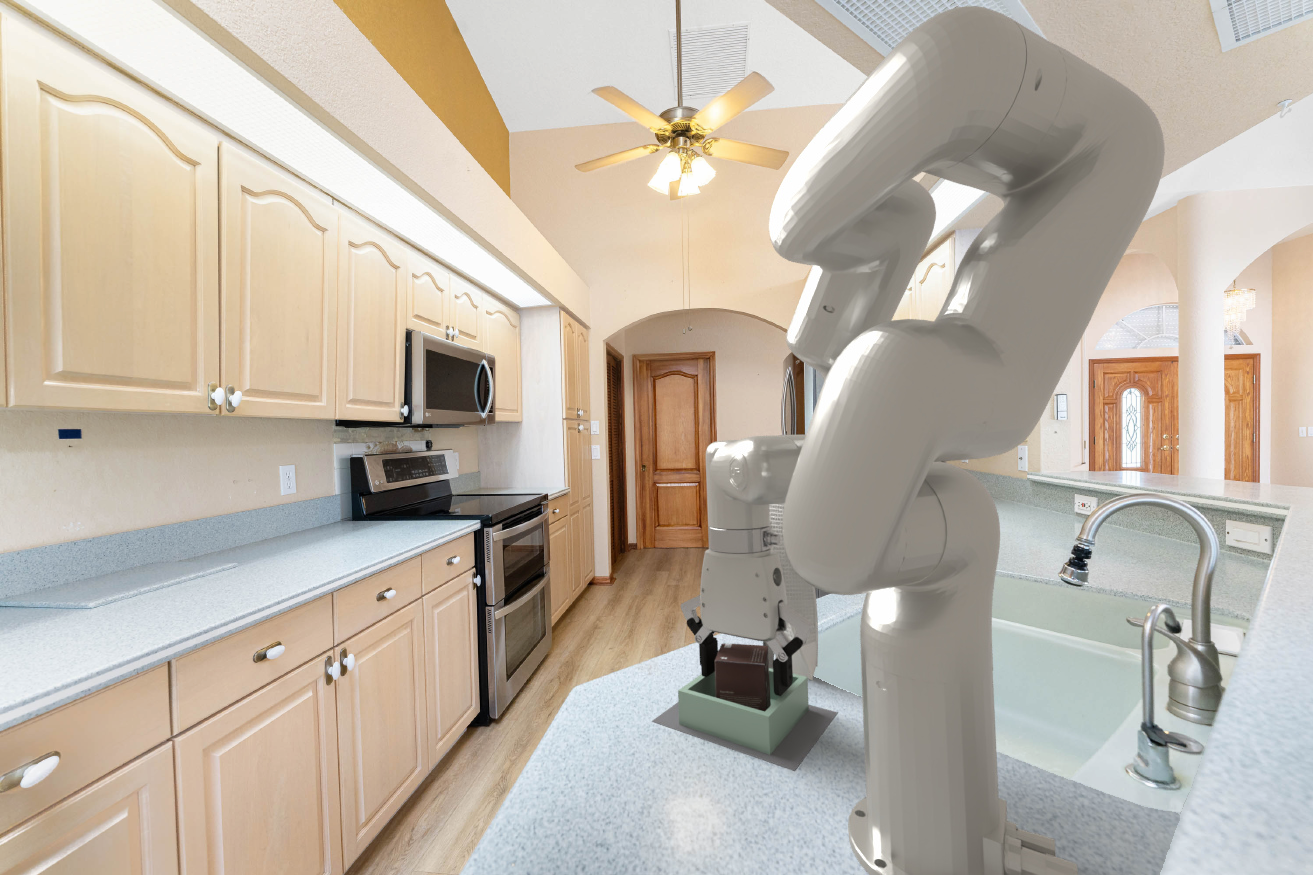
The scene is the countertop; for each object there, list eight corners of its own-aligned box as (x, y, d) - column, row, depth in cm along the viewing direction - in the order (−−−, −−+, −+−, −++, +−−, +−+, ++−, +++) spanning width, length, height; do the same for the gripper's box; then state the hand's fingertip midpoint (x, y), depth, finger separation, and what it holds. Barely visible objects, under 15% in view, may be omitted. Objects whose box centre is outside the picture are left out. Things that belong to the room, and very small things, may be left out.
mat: (837, 715, 64) (837, 712, 64) (794, 774, 53) (794, 770, 53) (710, 681, 75) (710, 678, 75) (651, 724, 64) (651, 721, 64)
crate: (808, 709, 65) (807, 676, 65) (770, 754, 56) (768, 716, 56) (726, 687, 72) (725, 657, 72) (679, 724, 63) (678, 690, 63)
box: (767, 729, 60) (765, 664, 60) (715, 723, 62) (713, 660, 62) (771, 703, 66) (769, 644, 66) (723, 699, 68) (721, 641, 68)
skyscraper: (771, 660, 82) (765, 481, 83) (825, 667, 79) (818, 481, 80) (762, 683, 75) (754, 485, 75) (821, 691, 72) (813, 485, 72)
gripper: (819, 540, 63) (825, 686, 62) (695, 531, 73) (700, 657, 72) (795, 551, 56) (802, 713, 56) (664, 540, 67) (668, 677, 66)
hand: (744, 681), depth 64 cm, fingers open, 9 cm apart
